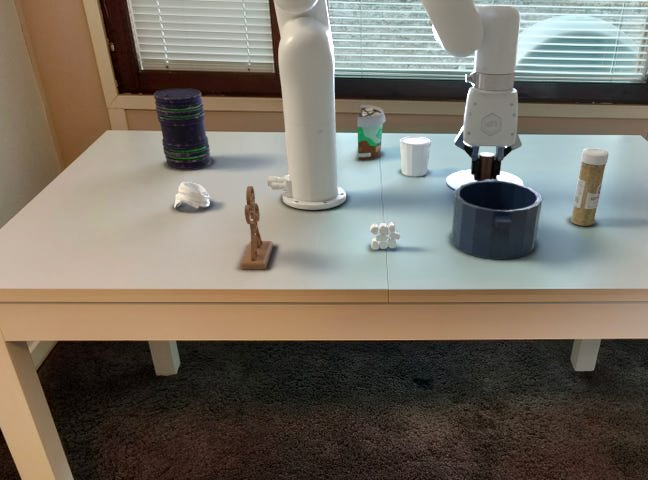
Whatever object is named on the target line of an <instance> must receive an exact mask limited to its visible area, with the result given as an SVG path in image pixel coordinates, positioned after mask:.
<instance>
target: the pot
mask: <svg viewBox="0 0 648 480" xmlns="http://www.w3.org/2000/svg"><path fill="white" fill-rule="evenodd" d="M453 194H454V195H453V206H452V222H451V243H452V244H453V246H455V248H456V249H458V250H459V251H461V252H462V253H465V254H466V255H470V256H473V257H477V258H481V259H487V260H513V259H517V258H521V257H524V256H526V255H528V254H530V253H531V252H532V251H533V250H534V248H535V245H536V243H537V236H538V230H539V223H540V217H541V211H542V210H541V209H542V203H543V198H542V196H541V194H540V192H538V191H537V190H535V189H534V188H532V187H530V186H527V185H524V184H523V185H521V184H518V183H512V182H505V181H499V180H498V179H485V181H477V182H470V183H467V184H464V185H461V186H459V187H458V188H457V189H456V190H455V191H454V193H453Z"/></svg>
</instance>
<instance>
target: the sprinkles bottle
mask: <svg viewBox="0 0 648 480" xmlns="http://www.w3.org/2000/svg"><path fill="white" fill-rule="evenodd" d="M608 160H609V152H608V151H607V150H605V149H604V148H603V149H602V148H597V147H588V148H584V149H583V150H582V153H581V157H580V168H579V174H578V177H577V182H576V183H577V184H576V189H575V195H574V200H573V208H572V214H571V217H570V221H571V222H572V224H574V225H577V226H580V227H589V226H592V225H594V224H595V223H596V222H595V221H596V214H597V208H598V207H599V200H600V195H601V190H602V185H603V180H604V179H603V178H604V174H605V169H606V165H607V163H608Z"/></svg>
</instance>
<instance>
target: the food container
mask: <svg viewBox="0 0 648 480" xmlns="http://www.w3.org/2000/svg"><path fill="white" fill-rule="evenodd" d="M356 118H357V119H356V121H357V123H356V124H357V126H356V128H357V157H358V158H357V160H358V161H371V160H376V159H378V158H379V157H381V151H382V137H383V125H384V123H385V122H386V120H387V119H386V115H385V112H384V110H383V108H382V107H379V106H375V105H370V104H360V112H359V115H358V116H357V117H356Z"/></svg>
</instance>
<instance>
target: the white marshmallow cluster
mask: <svg viewBox="0 0 648 480" xmlns="http://www.w3.org/2000/svg"><path fill="white" fill-rule="evenodd" d="M369 229H370V232H371V234H373V235H375V237H373V238H372V240H371V243H370V247H371V249H372V250H375V251H377V250H379V249H382V250H386V249H387V248H388V247H389V248H390V249H394V248H395V249H396V247H397V241H398V240H399V239H400V238H401V235H400V234H401V233H400V231H399V230H396V226H395V223H394V222H393V221H390V222H389V223H388V224H387V223H386V222H381V223H380V224H377V223H372V224H371V226H370V228H369Z"/></svg>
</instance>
